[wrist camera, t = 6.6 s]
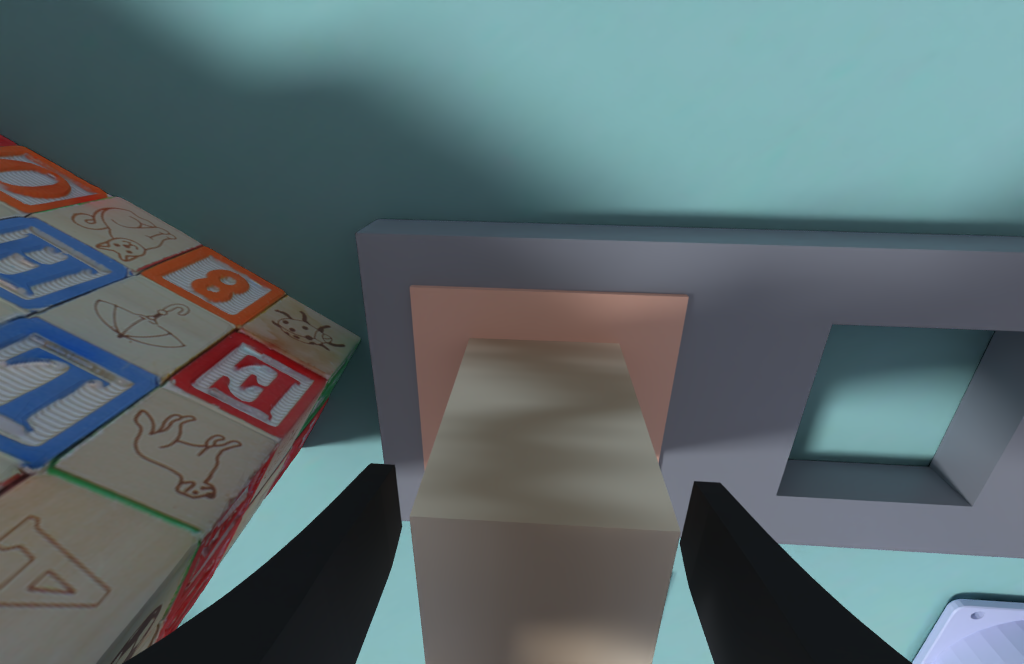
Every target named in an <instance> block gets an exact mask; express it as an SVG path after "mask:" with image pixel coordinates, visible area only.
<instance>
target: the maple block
mask: <svg viewBox="0 0 1024 664" xmlns="http://www.w3.org/2000/svg"><path fill="white" fill-rule="evenodd" d="M410 525H411V534H412V543H413V552H414V562H415V571H416V580H417V589H418V598H419V607H420V616H421V626H422V635H423V644H424V653H425V662H426V664H652V660H653V656H654V651H655V646H656V642H657V637H658V633H659V628H660V624H661V619H662V615H663V610H664V606H665V601H666V596H667V592H668V587H669V583H670V578H671V574H672V569H673V565H674V560H675V555H676V551H677V546H678V542H679V537H680V533H681V531H680V528H679V525H678V522H677V519H676V516H675V513H674V510H673V506H672V503H671V500H670V497H669V494H668V491H667V488H666V485H665V482H664V479H663V476H662V473H661V470H660V467H659V464H658V460H657V457H656V454H655V451H654V448H653V445H652V442H651V439H650V436H649V433H648V430H647V427H646V424H645V421H644V418H643V415H642V411H641V408H640V405H639V402H638V399H637V396H636V393H635V390H634V387H633V384H632V381H631V378H630V375H629V372H628V369H627V365H626V362H625V359H624V356H623V353H622V350H621V347H620V344H619V343H593V342H566V341H538V340H511V339H483V338H469V341H468V344H467V347H466V350H465V353H464V356H463V359H462V362H461V365H460V368H459V371H458V374H457V377H456V380H455V383H454V386H453V389H452V392H451V395H450V398H449V401H448V403H447V406H446V409H445V412H444V415H443V418H442V421H441V424H440V427H439V430H438V433H437V436H436V439H435V442H434V445H433V448H432V451H431V454H430V457H429V460H428V463H427V466H426V469H425V472H424V475H423V478H422V481H421V484H420V487H419V490H418V493H417V496H416V499H415V502H414V504H413V507H412V510H411V513H410Z"/></svg>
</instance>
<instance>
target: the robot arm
mask: <svg viewBox="0 0 1024 664" xmlns="http://www.w3.org/2000/svg"><path fill="white" fill-rule="evenodd" d="M401 529H402V521H401V512H400V504H399V495H398V486H397V477H396V468H395V465H391V464H373V463H371V464H370V465H368V466H367V467H366V468H365V469H364V470H363V471H362V472H361V473H360V474H359V475H358V476H357V477H356V478H355V479H354V480H353V481H352V482H351V483H350V484H349V485H348V486H347V487H346V489H345V490H344V491H343V492H342V493H341V494H340V495H339V496H338V497H337V498H336V499H335V500H334V501H333V502H332V503H331V504H330V505H329V506H328V507H327V508H325V509H324V510H323V511H322V512H321V513H320V514H319V515H318V516H317V517H316V518H315V519H314V520H313V521H312V522H311V523H310V524H309V525H308V526H307V527H306V528H305V529H304V530H303V531H301V532H300V533H299V534H298V535H297V536H296V537H295V538H294V539H292V540H291V541H290V542H289V543H288V544H287V545H286V546H285V547H283V548H282V549H281V550H280V551H279V552H278V553H277V554H276V555H274V556H273V557H272V558H271V559H270V560H269V561H267V562H266V563H265V564H264V565H263V566H261V567H260V568H259V569H258V570H257V571H255V572H254V573H253V574H252V575H250V576H249V577H248V578H247V579H245V580H244V581H243V582H242V583H240V584H239V585H238V586H236V587H235V588H234V589H232V590H231V591H230V592H229V593H227V594H226V595H225V596H223V597H222V598H221V599H219V600H218V601H216V602H215V603H214V604H212V605H211V606H209V607H208V608H206V609H205V610H204V611H202V612H201V613H199V614H198V615H196V616H195V617H193V618H192V619H190V620H189V621H188V622H186V623H185V624H183V625H182V626H180V627H179V628H177V629H176V630H174V631H173V632H171V633H170V634H169V635H167V636H166V637H164V638H162V639H161V640H159V641H158V642H156V643H155V644H153V645H151V646H150V647H148V648H147V649H145V650H143V651H142V652H140V653H139V654H137V655H135V656H134V657H132V658H131V659H129V660H127V661H126V662H124V663H122V664H355V663H356V661H357V658H358V655H359V653H360V650H361V648H362V645H363V642H364V640H365V637H366V634H367V632H368V629H369V627H370V624H371V621H372V619H373V616H374V613H375V611H376V608H377V606H378V603H379V600H380V598H381V595H382V592H383V590H384V587H385V584H386V582H387V579H388V576H389V573H390V571H391V568H392V564H393V561H394V557H395V553H396V549H397V545H398V541H399V537H400V533H401ZM680 547H681V552H682V557H683V562H684V567H685V571H686V576H687V580H688V585H689V589H690V592H691V595H692V598H693V601H694V604H695V607H696V610H697V613H698V616H699V619H700V622H701V625H702V628H703V631H704V634H705V637H706V640H707V643H708V646H709V649H710V652H711V655H712V658H713V661H714V663H715V664H1024V603H1017V602H1002V601H987V600H971V599H957V600H953V601H951V602H950V603H949V604H948V605H947V606H946V608H945V609H944V611H943V613H942V614H941V616H940V618H939V619H938V621H937V623H936V624H935V626H934V628H933V629H932V631H931V633H930V634H929V636H928V638H927V639H926V641H925V642H924V644H923V646H922V647H921V649H920V651H919V652H918V654H917V656H916V657H915V659H914V661H913V662H912V663H911V662H910V661H908V660H907V659H906V658H905V657H903V656H902V655H901V654H900V653H898V652H897V651H896V650H894V649H893V648H892V647H891V646H890V645H888V644H887V643H886V642H885V641H884V640H882V639H881V638H880V637H879V636H878V635H876V634H875V633H874V632H873V631H872V630H870V629H869V628H868V627H867V626H866V625H864V624H863V623H862V622H861V621H860V620H858V619H857V618H856V617H855V616H854V615H853V614H851V613H850V612H849V611H848V610H847V609H846V608H845V607H843V606H842V605H841V604H840V603H839V602H838V601H837V600H836V599H835V598H834V597H832V596H831V595H830V594H829V593H828V592H827V591H826V590H825V589H824V588H823V587H822V586H821V585H820V584H818V583H817V582H816V581H815V580H814V579H813V578H812V577H811V576H810V575H809V574H808V573H807V572H806V571H805V570H804V569H803V568H802V567H801V566H800V565H799V564H798V563H797V562H795V561H794V560H793V559H792V558H791V557H790V556H789V555H788V554H787V552H786V551H785V550H784V549H783V548H782V547H781V546H780V545H779V544H778V543H777V542H776V541H775V540H774V539H773V538H772V537H771V536H770V535H769V534H768V533H767V532H766V531H765V530H764V529H763V528H762V527H761V526H760V524H759V523H758V522H757V521H756V520H755V519H754V518H753V517H752V516H751V515H750V514H749V513H748V512H747V511H746V510H745V508H744V507H743V506H742V505H741V504H740V503H739V502H738V501H737V500H736V499H735V498H734V497H733V495H732V494H731V493H730V492H729V491H728V490H727V489H726V488H725V487H724V486H723V485H722V484H721V483H720V482H703V481H694V483H693V488H692V492H691V496H690V501H689V505H688V510H687V514H686V518H685V523H684V527H683V531H682V536H681V540H680Z"/></svg>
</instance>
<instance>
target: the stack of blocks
mask: <svg viewBox="0 0 1024 664" xmlns="http://www.w3.org/2000/svg"><path fill="white" fill-rule="evenodd" d="M360 341H361V338H360V337H359V336H357V335H356V334H354V333H352V332H350V331H349V330H347V329H345V328H344V327H342V326H340V325H338V324H337V323H335V322H333V321H331V320H330V319H328V318H326V317H324V316H323V315H321V314H319V313H317V312H316V311H314V310H312V309H311V308H309V307H307V306H305V305H304V304H302V303H300V302H298V301H297V300H295V299H293V298H292V297H290V296H288V295H287V294H286V293H285V292H284V291H283V290H282V289H280V288H278V287H276V286H275V285H273V284H271V283H269V282H268V281H266V280H264V279H262V278H261V277H259V276H257V275H256V274H254V273H252V272H250V271H249V270H247V269H245V268H243V267H242V266H240V265H238V264H236V263H234V262H233V261H231V260H229V259H228V258H226V257H224V256H222V255H221V254H219V253H217V252H215V251H214V250H212V249H210V248H208V247H205V246H203V245H202V244H200V243H199V242H198V241H196V240H195V239H193V238H191V237H189V236H188V235H186V234H185V233H183V232H181V231H180V230H178V229H176V228H174V227H173V226H171V225H169V224H167V223H165V222H164V221H162V220H160V219H158V218H157V217H155V216H153V215H151V214H150V213H148V212H146V211H144V210H142V209H141V208H139V207H137V206H135V205H134V204H132V203H130V202H129V201H127V200H125V199H122V198H120V197H116V196H115V197H113V196H111V195H109V194H107V193H106V192H104V191H103V190H102V189H100V188H99V187H96V186H94V185H91V184H89V183H88V182H86V181H85V180H83V179H81V178H79V177H77V176H75V175H74V174H72V173H71V172H69V171H67V170H65V169H64V168H62V167H60V166H58V165H56V164H55V163H53V162H51V161H49V160H48V159H46V158H44V157H42V156H40V155H39V154H37V153H35V152H33V151H32V150H30V149H28V148H26V147H24V146H19V145H17V144H16V143H14V142H13V141H11V140H9V139H7V138H6V137H4V136H2V135H0V664H122V663H124V662H126V661H127V660H129V659H131V658H132V657H134V656H135V655H137V654H139V653H140V652H142V651H143V650H145V649H147V648H148V647H150V646H151V645H153V644H155V643H156V642H158V641H159V640H161V639H162V638H164V637H166V636H167V635H169V634H170V633H171V632H173V631H174V630H176V629H177V627H178V626H179V624H180V623H181V621H182V619H183V618H184V617H185V615H186V614H187V613H188V612H189V610H190V609H191V608H192V606H193V605H194V603H195V602H196V600H197V599H198V597H199V595H200V594H201V593H202V591H203V590H204V589H205V587H206V585H207V584H208V582H209V581H210V579H211V578H212V576H213V574H214V572H215V570H216V568H217V567H218V566H219V564H220V563H221V561H222V560H223V558H224V557H225V555H226V554H227V553H228V551H229V550H230V548H231V547H232V545H233V544H234V542H235V541H236V540H237V538H238V537H239V535H240V534H241V532H242V531H243V529H244V528H245V527H246V525H247V524H248V522H249V521H250V519H251V518H252V516H253V515H254V513H255V512H256V511H257V509H258V508H259V506H260V504H261V503H262V501H263V499H265V498H266V496H267V495H268V494H269V493H270V491H271V490H272V489H273V487H274V486H275V484H276V483H277V482H278V480H279V479H280V478H281V476H282V475H283V473H284V472H285V470H286V469H287V468H288V466H289V465H290V463H291V462H292V461H293V459H294V458H295V457H296V455H297V454H298V452H299V451H300V449H301V448H302V446H303V444H304V442H305V441H306V439H307V437H308V435H309V434H310V432H311V430H312V428H313V427H314V425H315V423H316V421H317V420H318V418H319V416H320V414H321V412H322V410H323V409H324V407H325V405H326V403H327V402H328V400H329V395H330V394H331V392H332V390H333V388H334V386H335V385H336V383H337V381H338V379H339V378H340V376H341V374H342V372H343V371H344V369H345V367H346V365H347V364H348V362H349V360H350V358H351V357H352V355H353V353H354V351H355V349H356V348H357V346H358V345H359V343H360Z"/></svg>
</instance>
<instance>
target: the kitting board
mask: <svg viewBox="0 0 1024 664" xmlns="http://www.w3.org/2000/svg"><path fill="white" fill-rule="evenodd" d="M355 236H356V243H357V251H358V259H359V267H360V275H361V283H362V291H363V299H364V307H365V315H366V323H367V331H368V339H369V347H370V354H371V362H372V370H373V378H374V386H375V394H376V402H377V410H378V418H379V426H380V434H381V442H382V450H383V458H384V464H391V465H395V468H396V477H397V486H398V495H399V504H400V512H401V521H410V513H411V510H412V507H413V504H414V502H415V499H416V496H417V493H418V490H419V487H420V484H421V481H422V478H423V475H424V472H425V469H426V466H427V463H428V460H429V457H430V454H431V451H432V448H433V445H434V442H435V439H436V436H437V433H438V430H439V427H440V424H441V421H442V418H443V415H444V412H445V409H446V406H447V403H448V401H449V398H450V395H451V392H452V389H453V386H454V383H455V380H456V377H457V374H458V371H459V368H460V365H461V362H462V359H463V356H464V353H465V350H466V347H467V344H468V341H469V338H483V339H511V340H538V341H566V342H593V343H619V344H620V347H621V350H622V353H623V356H624V359H625V362H626V365H627V369H628V372H629V375H630V378H631V381H632V384H633V387H634V390H635V393H636V396H637V399H638V402H639V405H640V408H641V411H642V415H643V418H644V421H645V424H646V427H647V430H648V433H649V436H650V439H651V442H652V445H653V448H654V451H655V454H656V457H657V460H658V464H659V467H660V470H661V473H662V476H663V479H664V482H665V485H666V488H667V491H668V494H669V497H670V500H671V503H672V506H673V510H674V513H675V516H676V519H677V522H678V525H679V528H680V531H681V533H680V537H679V538H681V536H682V531H683V527H684V523H685V518H686V514H687V510H688V505H689V501H690V496H691V492H692V488H693V483H694V481H703V482H720V483H721V484H722V485H723V486H724V487H725V488H726V489H727V490H728V491H729V492H730V493H731V494H732V495H733V497H734V498H735V499H736V500H737V501H738V502H739V503H740V504H741V505H742V506H743V507H744V508H745V510H746V511H747V512H748V513H749V514H750V515H751V516H752V517H753V518H754V519H755V520H756V521H757V522H758V523H759V524H760V526H761V527H762V528H763V529H764V530H765V531H766V532H767V533H768V534H769V535H770V536H771V537H772V538H773V539H774V540H775V541H776V542H777V543H778V544H794V545H811V546H827V547H844V548H860V549H877V550H893V551H909V552H926V553H942V554H959V555H975V556H992V557H1008V558H1024V237H1018V236H982V235H945V234H909V233H873V232H836V231H800V230H763V229H727V228H691V227H654V226H618V225H582V224H545V223H509V222H472V221H436V220H400V219H377V220H375V221H374V222H372V223H370V224H369V225H367V226H366V227H364V228H362V229H361V230H359V231H358V232H356V233H355ZM832 324H839V325H865V326H892V327H919V328H946V329H973V330H996V331H995V333H994V335H993V337H992V339H991V341H990V343H989V345H988V347H987V349H986V351H985V353H984V355H983V358H982V360H981V362H980V364H979V366H978V368H977V370H976V372H975V374H974V376H973V378H972V380H971V382H970V384H969V386H968V388H967V390H966V392H965V394H964V396H963V398H962V400H961V402H960V404H959V406H958V409H957V411H956V413H955V415H954V417H953V419H952V421H951V423H950V425H949V427H948V429H947V431H946V433H945V435H944V437H943V439H942V441H941V443H940V445H939V447H938V449H937V451H936V453H935V455H934V457H933V460H932V462H931V464H930V466H929V467H924V466H904V465H885V464H866V463H846V462H827V461H808V460H788V458H789V455H790V451H791V448H792V445H793V442H794V439H795V436H796V433H797V430H798V427H799V424H800V421H801V418H802V415H803V412H804V409H805V406H806V403H807V400H808V397H809V394H810V390H811V387H812V384H813V381H814V378H815V375H816V372H817V369H818V366H819V363H820V360H821V357H822V354H823V351H824V348H825V345H826V342H827V339H828V336H829V332H830V329H831V326H832Z"/></svg>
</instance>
